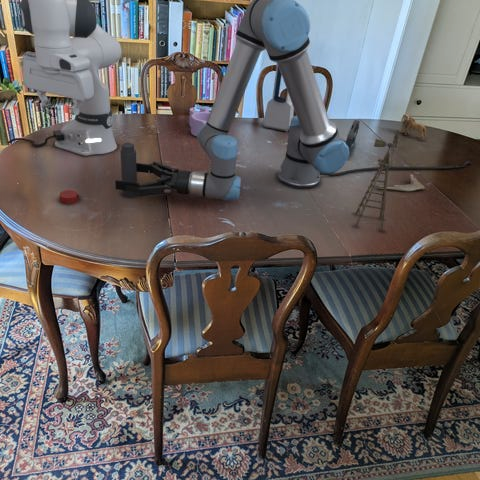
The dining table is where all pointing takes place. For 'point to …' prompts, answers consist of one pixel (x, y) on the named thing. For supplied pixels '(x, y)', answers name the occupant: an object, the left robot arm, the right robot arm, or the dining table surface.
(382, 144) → the miniature windmill
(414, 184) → the jawbone
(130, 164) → the dark grey bottle
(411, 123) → the lion figurine
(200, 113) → the clip
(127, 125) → the dining table surface
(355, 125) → the handheld gaming console
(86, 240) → the dining table surface
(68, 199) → the lid
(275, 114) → the electronic device
